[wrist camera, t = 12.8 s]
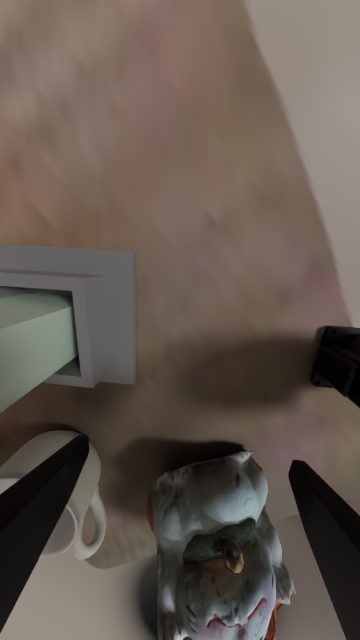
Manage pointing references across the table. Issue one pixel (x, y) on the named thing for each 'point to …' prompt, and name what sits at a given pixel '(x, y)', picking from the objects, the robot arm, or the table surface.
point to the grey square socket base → (83, 305)
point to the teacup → (82, 496)
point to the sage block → (34, 341)
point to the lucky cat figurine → (216, 552)
